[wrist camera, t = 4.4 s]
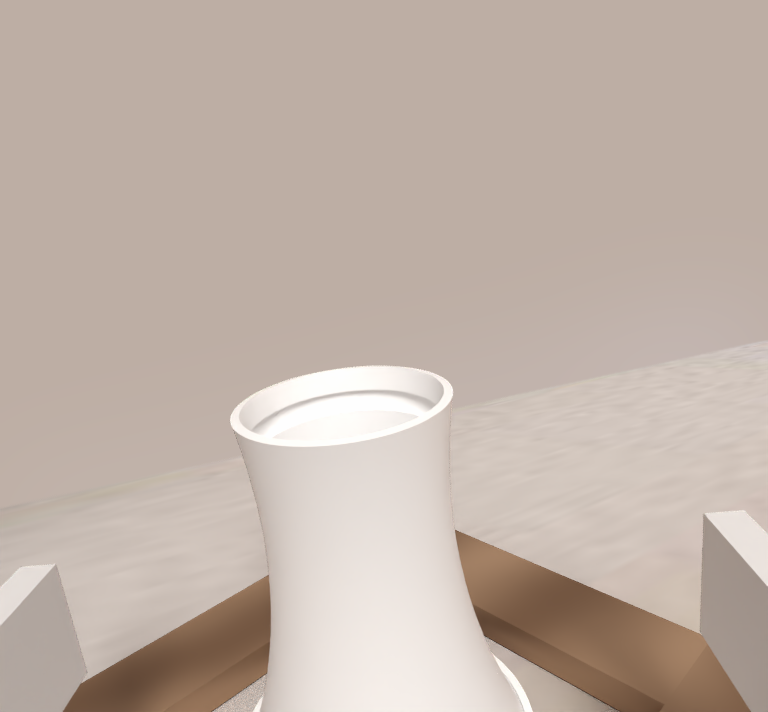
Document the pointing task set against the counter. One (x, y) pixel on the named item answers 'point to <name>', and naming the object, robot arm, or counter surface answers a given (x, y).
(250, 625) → the holder frame
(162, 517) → the counter surface
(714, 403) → the counter surface
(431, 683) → the vase
